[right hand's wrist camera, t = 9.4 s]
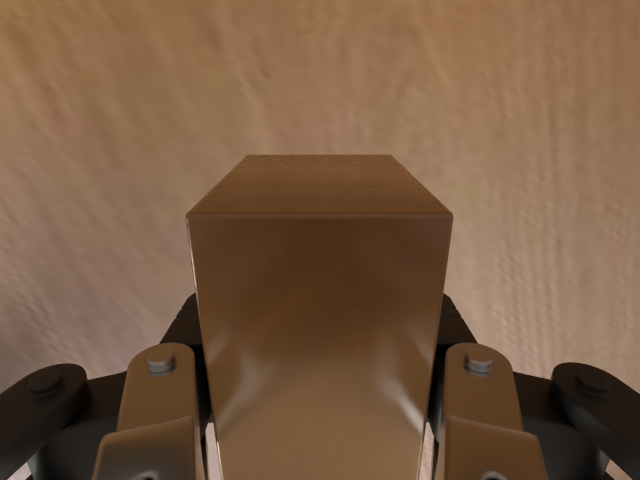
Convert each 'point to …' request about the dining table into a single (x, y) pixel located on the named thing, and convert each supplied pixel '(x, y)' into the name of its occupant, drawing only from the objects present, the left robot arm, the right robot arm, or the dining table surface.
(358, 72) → the dining table surface
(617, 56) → the dining table surface
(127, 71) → the dining table surface
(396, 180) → the post
